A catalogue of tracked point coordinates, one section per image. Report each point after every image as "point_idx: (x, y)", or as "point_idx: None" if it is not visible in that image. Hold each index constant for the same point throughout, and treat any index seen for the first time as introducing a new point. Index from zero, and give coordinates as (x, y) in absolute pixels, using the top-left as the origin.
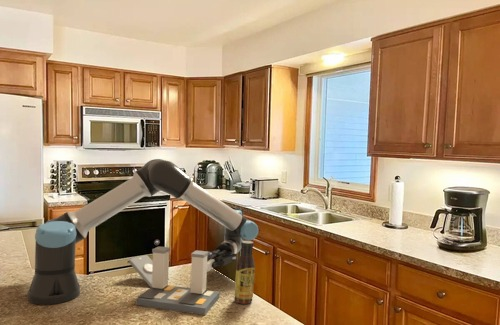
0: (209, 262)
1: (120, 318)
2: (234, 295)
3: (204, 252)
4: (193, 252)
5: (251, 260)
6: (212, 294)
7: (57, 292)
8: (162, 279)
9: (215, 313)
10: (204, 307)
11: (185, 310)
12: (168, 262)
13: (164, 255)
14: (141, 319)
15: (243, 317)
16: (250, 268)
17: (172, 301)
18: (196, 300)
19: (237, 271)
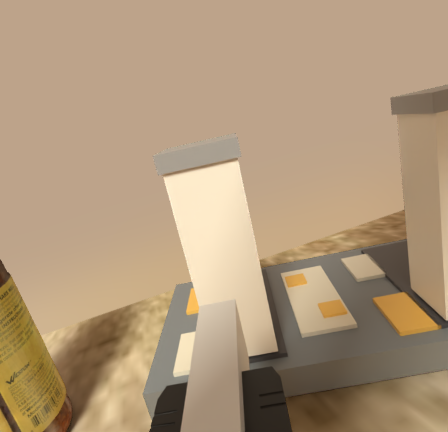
0: (207, 333)
1: (365, 227)
2: (65, 388)
3: (173, 150)
4: (232, 135)
5: None
6: (174, 357)
7: None
8: (409, 245)
9: (152, 319)
10: (180, 286)
11: None
12: (437, 191)
13: (402, 127)
14: (320, 241)
15: (65, 336)
16: None
17: (292, 268)
18: None
19: (10, 275)
